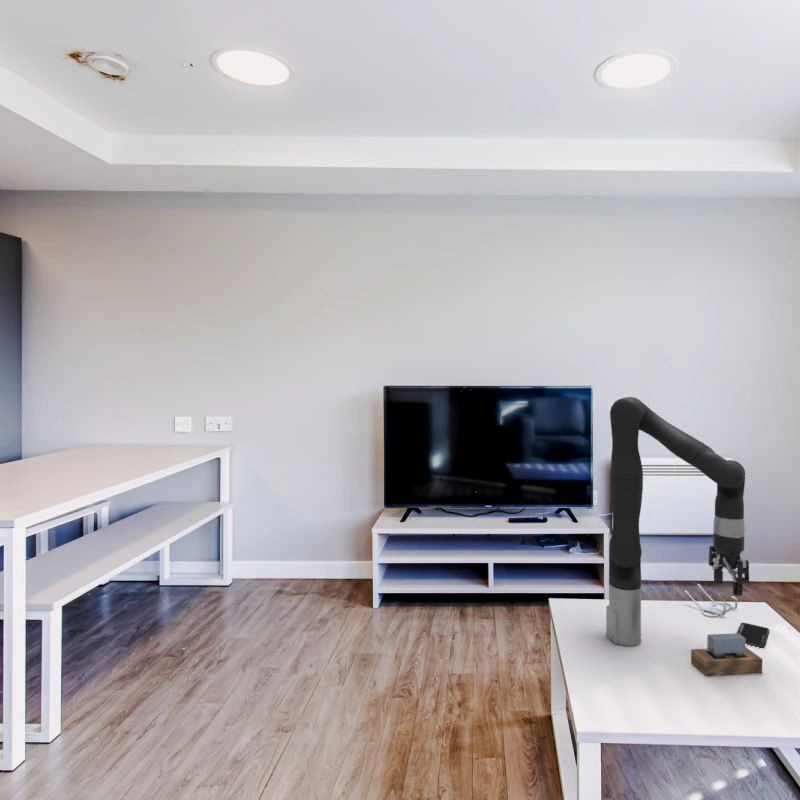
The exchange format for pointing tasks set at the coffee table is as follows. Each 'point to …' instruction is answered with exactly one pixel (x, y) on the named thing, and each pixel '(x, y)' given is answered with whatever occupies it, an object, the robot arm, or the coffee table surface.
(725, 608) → the silver thin wire frame
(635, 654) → the coffee table surface
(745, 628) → the phone
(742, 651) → the brushed steel block
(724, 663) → the two-pocket wooden block
